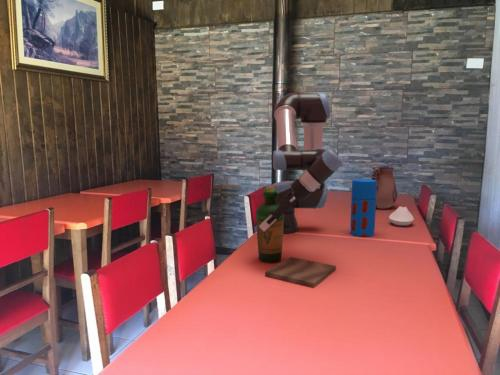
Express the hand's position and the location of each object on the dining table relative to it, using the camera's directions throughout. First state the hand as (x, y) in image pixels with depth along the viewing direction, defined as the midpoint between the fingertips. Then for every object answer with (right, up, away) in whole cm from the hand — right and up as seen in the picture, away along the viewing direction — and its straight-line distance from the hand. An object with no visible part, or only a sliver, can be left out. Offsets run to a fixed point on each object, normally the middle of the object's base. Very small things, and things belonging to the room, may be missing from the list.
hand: (264, 224), depth 148 cm
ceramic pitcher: (+73, +1, +90) cm, 116 cm away
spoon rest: (+73, -5, +57) cm, 93 cm away
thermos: (+47, -8, +35) cm, 59 cm away
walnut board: (+12, -16, -12) cm, 23 cm away
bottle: (+2, -14, +2) cm, 14 cm away
